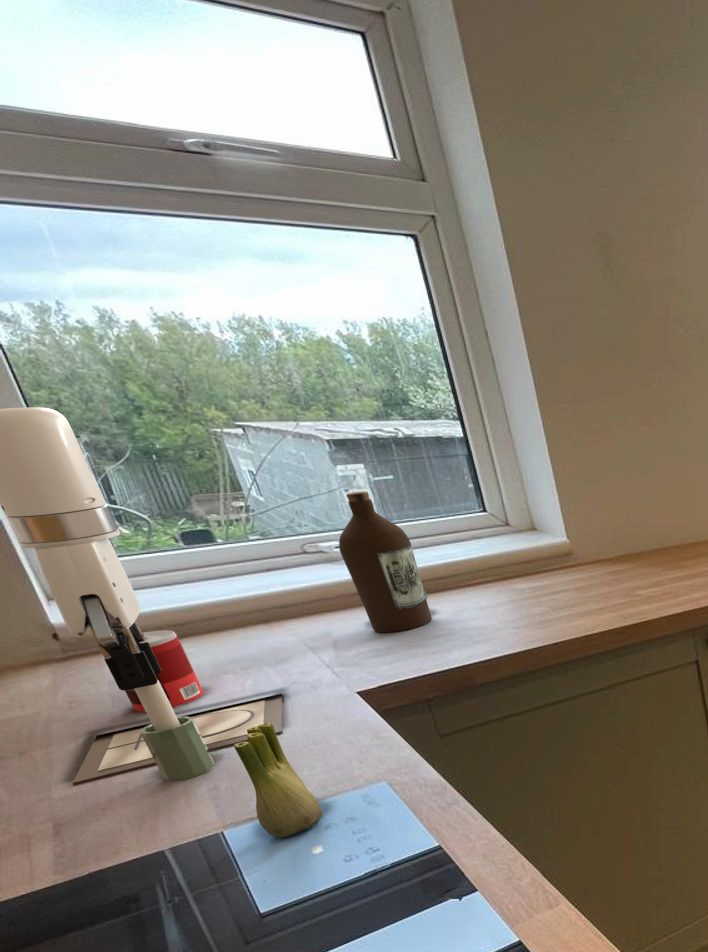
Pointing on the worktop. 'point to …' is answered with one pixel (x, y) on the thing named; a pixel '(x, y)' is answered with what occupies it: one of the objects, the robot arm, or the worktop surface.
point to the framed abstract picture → (214, 726)
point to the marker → (157, 707)
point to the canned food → (170, 670)
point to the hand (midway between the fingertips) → (141, 680)
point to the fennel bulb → (276, 785)
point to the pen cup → (179, 750)
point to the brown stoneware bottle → (383, 568)
